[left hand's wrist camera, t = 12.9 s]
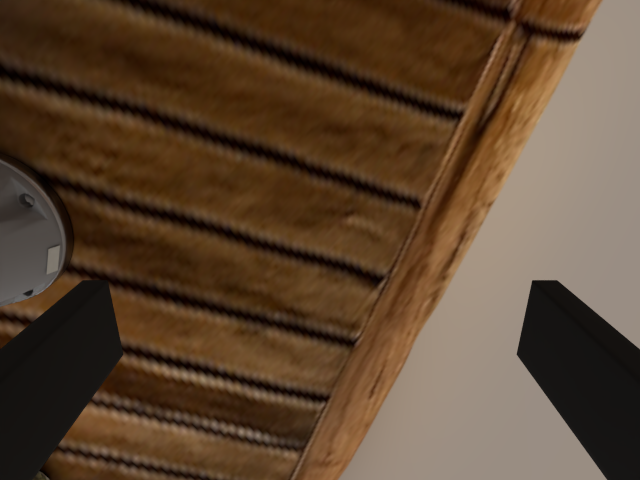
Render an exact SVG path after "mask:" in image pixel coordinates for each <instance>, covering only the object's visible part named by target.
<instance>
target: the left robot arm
mask: <svg viewBox="0 0 640 480" xmlns="http://www.w3.org/2000/svg"><path fill="white" fill-rule="evenodd" d="M72 251H73V232H72V227H71V223H70V220H69V217H68V214H67V212H66V210H65V208H64V206H63V204H62V202H61V201H60V199H59V198H58V196H57V195H56V193H55V192H54V191H53V189H52V188H51V187H50V186H49V185H48V184H47V183H46V182H45V181H44V180H43V179H42V178H41V177H40V176H39V175H38V174H37V173H35V172H34V171H33V170H31V169H30V168H29V167H27V166H26V165H24V164H22V163H21V162H19V161H17V160H15V159H13V158H11V157H9V156H6V155H4V154H1V153H0V307H1V306H4V305H8V304H11V303H15V302H19V301H22V300H25V299H28V298H31V297H33V296H35V295H37V294H39V293H40V292H42V291H43V290H45V289H46V288H47V287H49V286H50V285H51V284H53V283H54V282H55V281H56V280H58V279H59V278H60V276H61V275H62V274H63V273H64V271H65V270H66V268H67V266H68V264H69V262H70V259H71V256H72ZM517 355H518V357H519V358H520V360H521V361H522V362H523V364H524V365H525V367H526V368H527V369H528V371H529V372H530V374H531V375H532V376H533V378H534V379H535V380H536V382H537V383H538V384H539V386H540V387H541V389H542V390H543V392H544V393H545V394H546V396H547V397H548V398H549V400H550V401H551V403H552V404H553V405H554V407H555V408H556V410H557V411H558V412H559V414H560V415H561V416H562V418H563V419H564V421H565V422H566V423H567V425H568V426H569V428H570V429H571V430H572V432H573V433H574V434H575V436H576V437H577V439H578V440H579V441H580V443H581V444H582V445H583V447H584V448H585V450H586V451H587V452H588V454H589V455H590V457H591V458H592V459H593V461H594V462H595V463H596V465H597V466H598V468H599V469H600V470H601V472H602V473H603V475H604V476H605V477H606V479H607V480H640V349H639V348H637V347H636V346H635V345H634V344H633V343H631V342H630V341H629V340H628V339H627V338H625V337H624V336H623V335H622V334H621V333H619V332H618V331H617V330H616V329H615V328H613V327H612V326H611V325H610V324H609V323H608V322H606V321H605V320H604V319H603V318H602V317H600V316H599V315H598V314H597V313H595V312H594V311H593V310H592V309H591V308H590V307H588V306H587V305H586V304H585V303H584V302H582V301H581V300H580V299H579V298H578V297H576V296H575V295H574V294H573V293H572V292H570V291H569V290H568V289H567V288H566V287H564V286H563V285H562V284H561V283H560V282H558V281H557V280H533V281H532V285H531V289H530V294H529V299H528V304H527V308H526V313H525V318H524V322H523V327H522V332H521V337H520V341H519V346H518V351H517ZM122 356H123V351H122V346H121V341H120V337H119V332H118V327H117V322H116V318H115V313H114V308H113V303H112V299H111V294H110V289H109V285H108V280H83V281H82V282H80V283H79V284H78V285H77V286H76V287H74V288H73V289H72V290H71V291H70V292H68V293H67V294H66V295H65V296H64V297H62V298H61V299H60V300H59V301H58V302H56V303H55V304H54V305H53V306H52V307H50V308H49V309H48V310H47V311H46V312H44V313H43V314H42V315H41V316H40V317H38V318H37V319H36V320H35V321H34V322H32V323H31V324H30V325H29V326H28V327H26V328H25V329H24V330H23V331H22V332H21V333H19V334H18V335H17V336H16V337H15V338H13V339H12V340H11V341H10V342H9V343H7V344H6V345H5V346H4V347H3V348H1V349H0V480H33V479H34V477H35V476H36V475H37V473H38V472H39V470H40V469H41V468H42V466H43V465H44V463H45V462H46V461H47V459H48V458H49V457H50V455H51V454H52V452H53V451H54V450H55V448H56V447H57V445H58V444H59V443H60V441H61V440H62V439H63V437H64V436H65V434H66V433H67V432H68V430H69V429H70V427H71V426H72V425H73V423H74V422H75V421H76V419H77V418H78V416H79V415H80V414H81V412H82V411H83V410H84V408H85V407H86V405H87V404H88V403H89V401H90V400H91V398H92V397H93V396H94V394H95V393H96V392H97V390H98V389H99V387H100V386H101V385H102V383H103V382H104V380H105V379H106V378H107V376H108V375H109V374H110V372H111V371H112V369H113V368H114V367H115V365H116V364H117V362H118V361H119V360H120V358H121V357H122Z"/></svg>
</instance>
